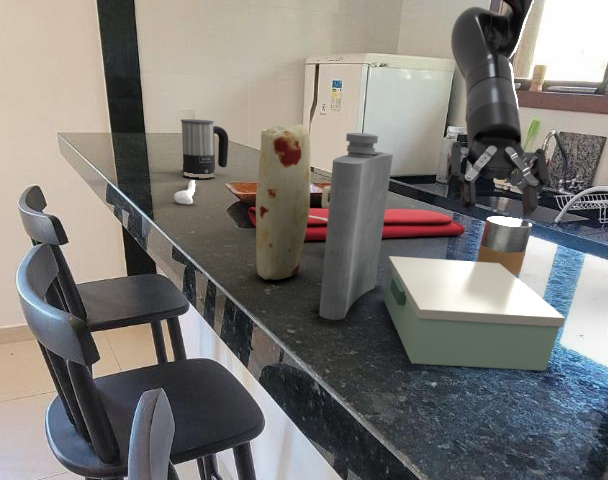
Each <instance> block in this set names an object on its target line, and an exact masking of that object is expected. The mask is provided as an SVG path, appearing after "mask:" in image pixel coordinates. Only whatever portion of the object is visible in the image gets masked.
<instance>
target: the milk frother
mask: <svg viewBox="0 0 608 480" xmlns="http://www.w3.org/2000/svg"><path fill="white" fill-rule="evenodd" d="M180 123H181V139H182V140H181V143H182V165H183V170H182V172H183V171H184V172H187V173H193V174H211V173H214V172H215V170H216V156H215V152H216V151H215V135H217V138H218V147H217V148H218V149H217V150H218V151H217V153H218V154H217V164H218V167H221V168H226V167H227V166H228V156H229V155H228V154H229V135H228V133H227V131H226V130H225V129H224V128H223V127H221V126H218V125H214V123H215V121H213V120H208V119H207V120H206V119H192V118H191V119H190V118H189V119H182V118H181V119H180ZM182 175H183V174H182ZM183 176H185V175H183ZM183 176H182V177H183ZM186 177H189V176H185V177H184V178H186ZM191 178H199V177H190V178H189V179H191ZM209 178H211V179H214V178H213V177H209ZM198 180H207V179H206V178H199V179H198Z"/></svg>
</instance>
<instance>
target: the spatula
mask: <svg viewBox="0 0 608 480" xmlns="http://www.w3.org/2000/svg"><path fill="white" fill-rule="evenodd" d="M195 181H196V179H191V180H190V181H189V182H188V186H187V189H186V190H180V191H176V192H175V194H174V195H173V198H174V201H175V202H176V203H177V204H179V205H183V206H188V205H192V204H193V202H194V199H193V196H194V194H195V193H196V185H197V183H196V184H195ZM194 192H195V193H194Z"/></svg>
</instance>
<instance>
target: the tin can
mask: <svg viewBox="0 0 608 480" xmlns="http://www.w3.org/2000/svg"><path fill="white" fill-rule="evenodd" d="M532 228H533V224H532V223H530V222H529V221H526V220H523V219H519V218H513V217H505V216H488V217H487V218H486V219H485V224H484V228H483V233H482V236H481V242H480V244H479V249H478V253H477V257H476V261H475V262H487V263H500V264H501V265H502V266H503V267H504V268H506V269H507V270H508V271H509V272H510V273H512V274H513V275H514V276H515V277H516V278H518V279H519V277H520V274H521V271H522V267H523V263H524V260H525V256H526V252H527V246H528V244H529V239H530V235H531V231H532Z"/></svg>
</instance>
